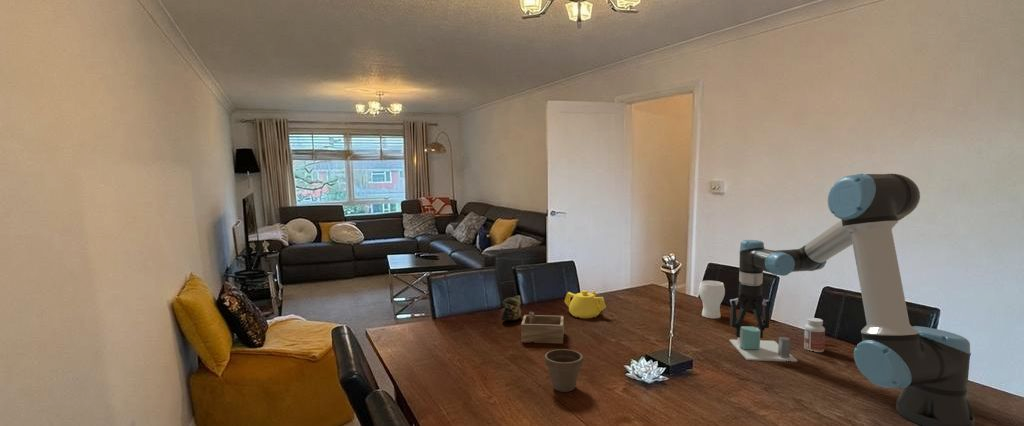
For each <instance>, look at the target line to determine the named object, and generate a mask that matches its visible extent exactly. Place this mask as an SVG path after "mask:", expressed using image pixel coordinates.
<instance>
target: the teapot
mask: <svg viewBox="0 0 1024 426" xmlns="http://www.w3.org/2000/svg"><path fill="white" fill-rule="evenodd" d="M571 298H572V299H571ZM605 302H606V301H605V299H604V296H597V292H595V291H591V292H589V291H588V290H585V289H584V290H583V289H582V290H581V292H578V293H573V292H570V291H568V292H567V293H566V295H565V298H564V303H565V305H566V306H567V307H568V311H569V313H570V314H571V315H572V316H573V317H575V318H578V317H579V319H592V318H593V317H594V318H596V317H598V316H599V315H600V313H601V312H602V311H603V310H604V309H606V308H607V305H606V303H605ZM594 318H593V319H594Z"/></svg>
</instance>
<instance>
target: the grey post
mask: <svg viewBox="0 0 1024 426" xmlns="http://www.w3.org/2000/svg"><path fill="white" fill-rule="evenodd" d="M778 344H779V345H778V355H779V356H780V357H781V358H790V354H791V339H790V338H789V337H787V336H779V337H778Z"/></svg>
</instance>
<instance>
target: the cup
mask: <svg viewBox="0 0 1024 426" xmlns="http://www.w3.org/2000/svg"><path fill="white" fill-rule="evenodd" d="M698 294H699V297H700V299H701V302H702V307H703V308H702V311H701V316H702V317H704V318H707V319H720V318H722V317H721V309H720V307H721V303H722V302H723V300H724V297H725V295H726V289H725V284H724V282H721V281H718V280H702V281H700V282H699V286H698Z"/></svg>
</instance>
